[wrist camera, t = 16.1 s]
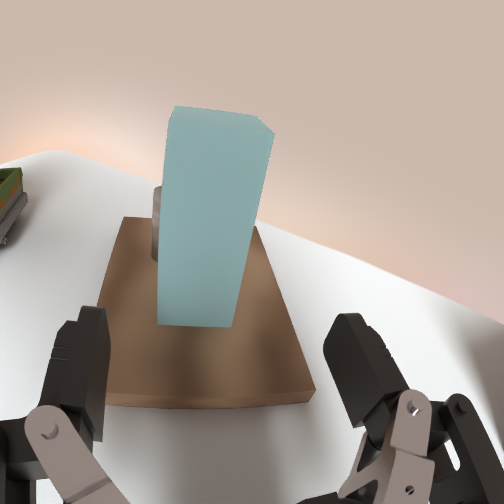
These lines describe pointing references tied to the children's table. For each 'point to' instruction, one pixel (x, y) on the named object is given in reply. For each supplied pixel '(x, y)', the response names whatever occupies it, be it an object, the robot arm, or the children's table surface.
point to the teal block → (208, 213)
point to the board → (197, 336)
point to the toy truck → (10, 199)
